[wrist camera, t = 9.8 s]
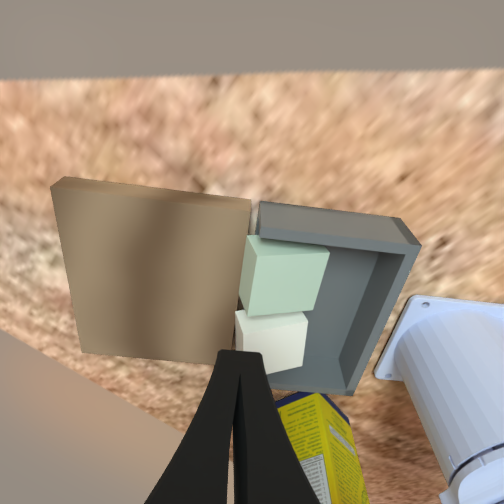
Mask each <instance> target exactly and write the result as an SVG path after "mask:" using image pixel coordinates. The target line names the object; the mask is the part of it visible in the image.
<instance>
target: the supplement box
mask: <svg viewBox="0 0 504 504" xmlns="http://www.w3.org/2000/svg"><path fill="white" fill-rule="evenodd" d="M275 404H276V407H277V409H278V412H279V415H280V417H281V420H282V423H283V425H284V428H285V430H286V433H287V435H288V437H289V440H290V442H291V444H292V447H293V449H294V451H295V453H296V456H297V458H298V460H299V462H300V464H301V466H302V468H303V470H304V472H305V474H306V476H307V478H308V480H309V482H310V484H311V486H312V488H313V490H314V492H315V494H316V496H317V498H318V499H319V501H320V503H321V504H370V503H369V499H368V495H367V491H366V487H365V483H364V479H363V475H362V471H361V467H360V463H359V459H358V455H357V451H356V447H355V443H354V439H353V435H352V431H351V427H350V423H349V419H348V417H347V416H346V415H345V414H344V413H343V412H342V411H341V410H340V409H339V408H338V407H337V406H336V405H335V404H334V403H333V402H332V401H331V400H330V398H329V397H328V396H327V395H326V394H323V393H312V392H301V391H300V392H298V393H296V394H293V395H291V396H288V397H286V398H284V399H281V400H279V401H277V402H275Z"/></svg>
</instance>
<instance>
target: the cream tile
mask: <svg viewBox="0 0 504 504" xmlns="http://www.w3.org/2000/svg"><path fill="white" fill-rule="evenodd" d="M307 326H308V320H307V319H306V317H305V315H304V314H303V312H302V311H299V312H288V313H278V314H268V315H258V316H248V317H247V315H246V312H245V310H239V311H235V332H236V350H238V351H250V352H260V353H261V354H262V356H263V362H264V367H265V371H266V374H270V373H274V372H279V371H283V370H287V369H292V368H296V367H300V366H302V364H303V356H304V349H305V341H306V334H307Z"/></svg>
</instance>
